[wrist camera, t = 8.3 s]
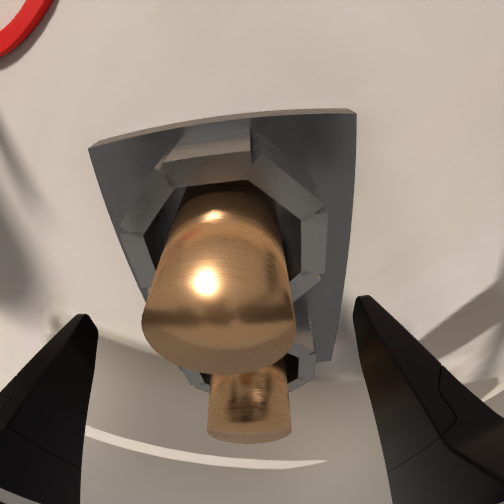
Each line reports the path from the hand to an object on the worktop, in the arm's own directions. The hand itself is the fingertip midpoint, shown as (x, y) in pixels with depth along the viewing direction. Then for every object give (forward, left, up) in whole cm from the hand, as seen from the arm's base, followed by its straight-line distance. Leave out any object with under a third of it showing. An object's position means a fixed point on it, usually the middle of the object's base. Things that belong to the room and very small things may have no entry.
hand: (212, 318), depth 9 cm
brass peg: (0, 0, -6) cm, 6 cm away
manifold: (0, +4, -7) cm, 9 cm away
